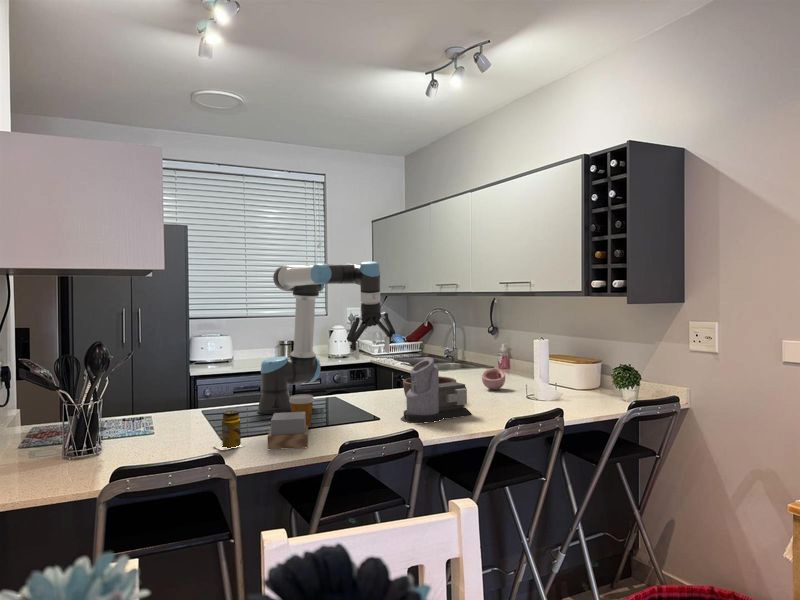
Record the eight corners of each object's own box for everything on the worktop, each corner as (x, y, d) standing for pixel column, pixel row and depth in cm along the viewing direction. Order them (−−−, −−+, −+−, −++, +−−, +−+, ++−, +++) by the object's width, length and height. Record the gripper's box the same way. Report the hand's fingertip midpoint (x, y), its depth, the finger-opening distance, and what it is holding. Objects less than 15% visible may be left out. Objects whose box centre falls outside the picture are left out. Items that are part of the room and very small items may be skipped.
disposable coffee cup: (305, 423, 220) (304, 393, 220) (319, 427, 213) (318, 396, 213) (284, 427, 213) (284, 396, 213) (298, 431, 207) (298, 399, 206)
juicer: (413, 425, 213) (412, 362, 212) (393, 417, 227) (392, 358, 226) (476, 416, 227) (475, 357, 227) (454, 409, 241) (453, 353, 241)
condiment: (245, 446, 188) (244, 411, 188) (222, 452, 182) (221, 415, 182) (235, 442, 193) (234, 408, 193) (212, 447, 187) (211, 412, 187)
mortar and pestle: (481, 391, 281) (481, 369, 281) (482, 387, 293) (481, 366, 292) (505, 392, 279) (505, 369, 279) (505, 387, 291) (504, 366, 290)
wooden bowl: (422, 394, 276) (422, 374, 275) (466, 400, 261) (466, 378, 261) (392, 403, 255) (392, 381, 255) (438, 409, 241) (438, 386, 240)
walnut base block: (267, 451, 183) (267, 436, 183) (271, 440, 196) (270, 426, 196) (307, 449, 185) (307, 434, 185) (308, 438, 198) (307, 424, 198)
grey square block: (271, 435, 185) (271, 420, 185) (274, 427, 196) (274, 413, 196) (304, 433, 186) (304, 418, 186) (305, 425, 197) (305, 411, 197)
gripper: (345, 308, 202) (347, 363, 206) (403, 300, 214) (404, 352, 219) (336, 304, 208) (338, 357, 213) (393, 296, 221) (394, 347, 225)
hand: (371, 355), depth 216 cm, fingers open, 13 cm apart
